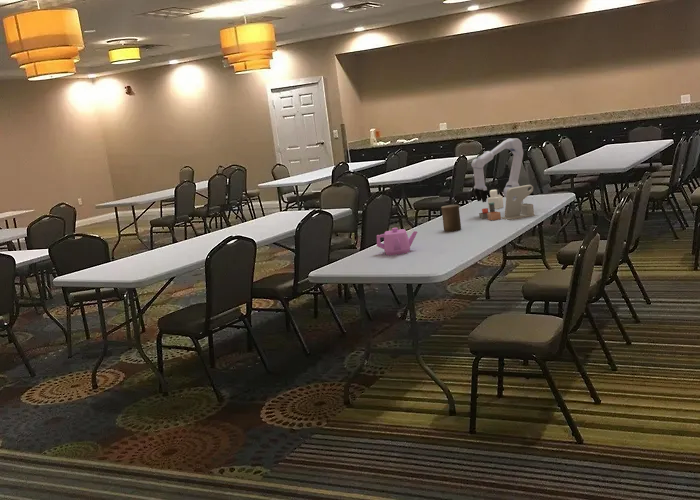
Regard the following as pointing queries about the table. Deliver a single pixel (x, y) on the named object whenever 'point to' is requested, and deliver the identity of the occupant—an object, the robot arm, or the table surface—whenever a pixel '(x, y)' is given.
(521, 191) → the phone holder
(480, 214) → the button base
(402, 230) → the teakettle
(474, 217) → the table surface
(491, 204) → the marker
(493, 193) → the medicine bottle
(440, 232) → the table surface
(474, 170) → the robot arm
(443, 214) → the pillar candle
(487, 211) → the button
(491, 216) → the pen cup
